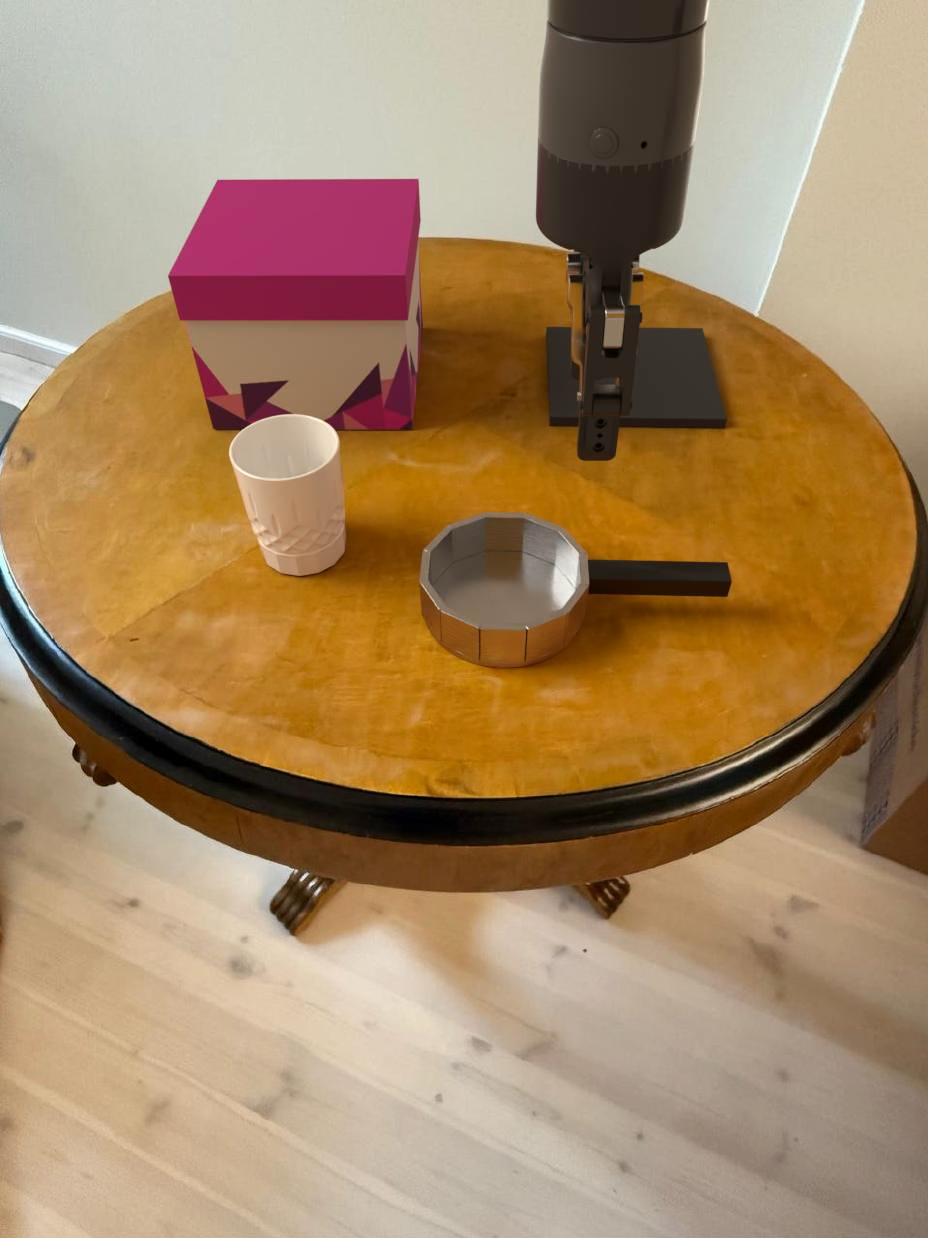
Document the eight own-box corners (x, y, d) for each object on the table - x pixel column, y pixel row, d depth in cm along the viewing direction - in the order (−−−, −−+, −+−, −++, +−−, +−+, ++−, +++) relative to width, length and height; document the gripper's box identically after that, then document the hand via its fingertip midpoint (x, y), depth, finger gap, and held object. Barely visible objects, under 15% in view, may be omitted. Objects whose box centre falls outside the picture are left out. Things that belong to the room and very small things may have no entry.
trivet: (700, 336, 93) (702, 327, 92) (724, 428, 82) (727, 419, 81) (546, 335, 93) (546, 326, 93) (549, 425, 83) (550, 416, 82)
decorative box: (425, 325, 95) (418, 178, 84) (415, 432, 82) (405, 275, 71) (247, 325, 95) (217, 179, 84) (209, 431, 83) (167, 275, 72)
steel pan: (417, 666, 63) (414, 627, 60) (428, 550, 71) (426, 510, 68) (731, 673, 63) (744, 634, 60) (707, 555, 71) (717, 515, 68)
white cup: (320, 594, 68) (301, 492, 61) (235, 564, 71) (206, 462, 63) (371, 531, 73) (359, 429, 66) (289, 505, 75) (269, 403, 68)
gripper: (718, 188, 38) (666, 488, 50) (677, 79, 48) (642, 352, 60) (540, 190, 38) (531, 488, 50) (535, 82, 48) (528, 353, 60)
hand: (591, 414), depth 55 cm, fingers open, 8 cm apart
